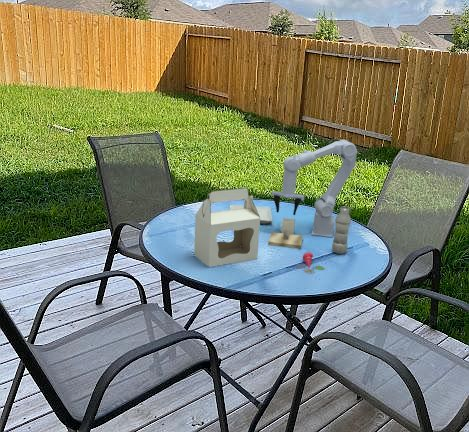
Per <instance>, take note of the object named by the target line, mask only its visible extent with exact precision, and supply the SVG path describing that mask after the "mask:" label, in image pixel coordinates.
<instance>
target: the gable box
mask: <svg viewBox="0 0 469 432" xmlns="http://www.w3.org/2000/svg"><path fill="white" fill-rule="evenodd" d="M241 200H242V201H244V202H243V203H244V204H243V205H244V208H239V209H231V210H230V209H225V210H224V209H223V210H216V211H211V209H212V208H211V207H212V204H217V203H224V202H232V201H241ZM255 206H256V205H255V203H254V196H253V194H251V195H249V189H248V188H246V187H241V188H231V189H230V188H229V189H222V190H221V189H220V190H213V191H210V192H208V198H206V199H204V200H203V202H202V204H201V206H200V207H199V208H198V210H197V211H196V213H195V217H194V219H195V220H194V221H195V222H194V247H193V248H194V249H193V251H194V254H195V255H196V256H197V257H198V258H199V259H198V258H197V257H196V256H195V255H194V254H193V255H194V256H195V257H196V258H197V259H198V260H200V261H201V260H202V261H203V262H204V263H205V264H206V265H207V266H209V267H210V266H216V267H218V266H217V265H221V266H224V265H223V264H227V265H230V264H229V263H232V264H237V262H238V263H242V262H246V261H253V260H257V259H258V253H259V252H258V251H259V240H260V239H259V238H260V227H261V226H260V225H261V224H260V216H259V214H258V212H257V209H256V207H255ZM225 231H233V239H232V241H217V236H218V235H219V234H220V233H221V232H225ZM202 261H201V262H202ZM203 262H202V263H203ZM204 263H203V264H204ZM205 264H204V265H205ZM206 265H205V266H206ZM207 266H206V267H207ZM209 267H208V268H209ZM210 268H211V267H210Z"/></svg>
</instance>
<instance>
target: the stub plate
mask: <svg viewBox="0 0 469 432" xmlns="http://www.w3.org/2000/svg"><path fill="white" fill-rule="evenodd" d="M302 242H303V235H299V234H293V235H292V234H289V231H284V234H283V233H281V232H273V231H272V232H270V235H269V239H268V243H267V245H268V246H275V247H284V248H290V249H291V248H292V249H297V250H298V249H299V250H300V249H301V248H302Z"/></svg>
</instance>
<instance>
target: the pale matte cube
mask: <svg viewBox="0 0 469 432" xmlns="http://www.w3.org/2000/svg"><path fill="white" fill-rule="evenodd" d="M281 221H282V222H281V230H280V233H283V234H284V231H289V234H292V235H295V225H296V218H288V217H283V218H282V220H281Z"/></svg>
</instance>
